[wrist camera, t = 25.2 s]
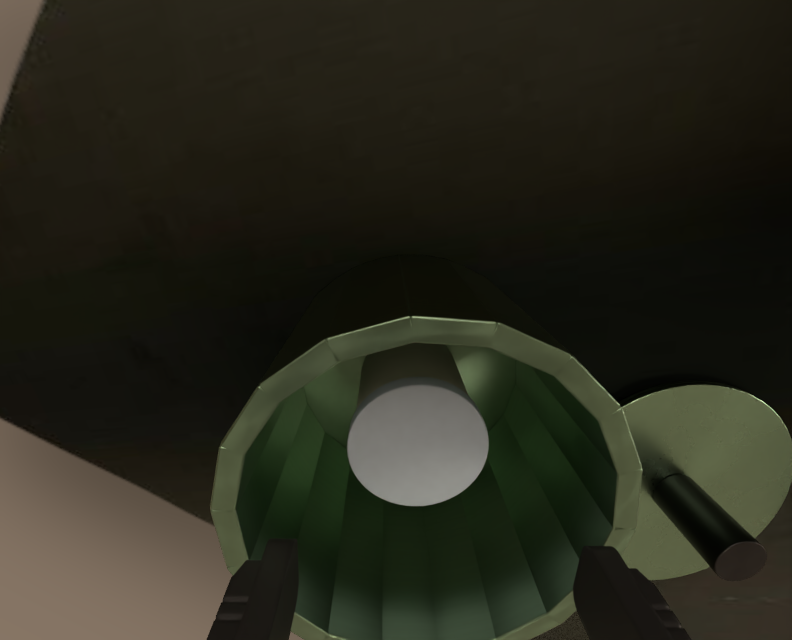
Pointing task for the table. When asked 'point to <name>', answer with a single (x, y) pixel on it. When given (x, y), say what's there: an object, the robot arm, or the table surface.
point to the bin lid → (705, 478)
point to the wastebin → (442, 522)
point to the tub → (415, 427)
